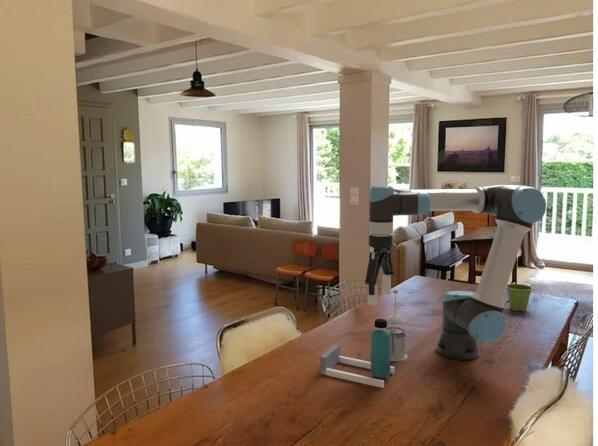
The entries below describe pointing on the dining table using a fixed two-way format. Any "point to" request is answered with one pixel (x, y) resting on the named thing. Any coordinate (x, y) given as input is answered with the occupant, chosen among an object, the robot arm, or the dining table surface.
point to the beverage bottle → (380, 350)
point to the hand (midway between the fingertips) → (379, 299)
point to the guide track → (333, 358)
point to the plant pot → (518, 296)
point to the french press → (396, 336)
